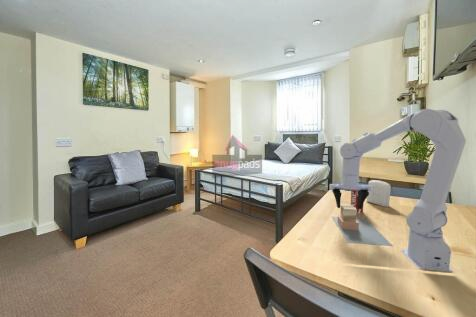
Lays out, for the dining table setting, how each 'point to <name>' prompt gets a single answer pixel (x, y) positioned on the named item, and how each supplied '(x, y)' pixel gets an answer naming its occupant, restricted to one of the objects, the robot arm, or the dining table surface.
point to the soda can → (355, 201)
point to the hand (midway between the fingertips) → (348, 207)
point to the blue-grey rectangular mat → (363, 233)
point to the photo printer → (379, 193)
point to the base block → (348, 224)
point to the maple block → (348, 213)
